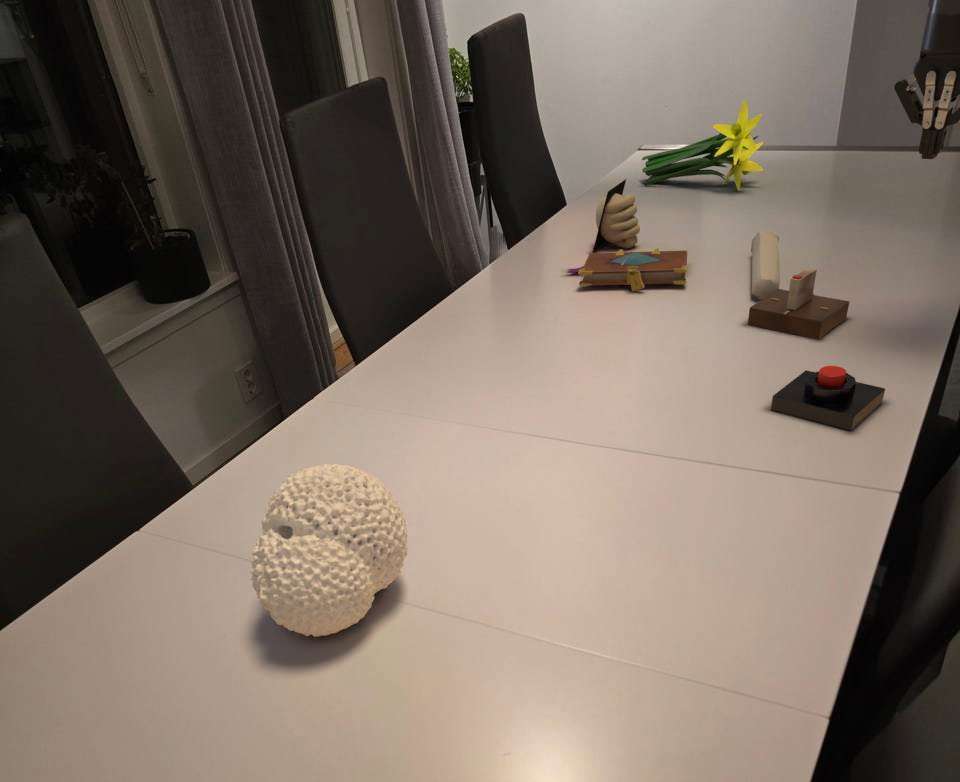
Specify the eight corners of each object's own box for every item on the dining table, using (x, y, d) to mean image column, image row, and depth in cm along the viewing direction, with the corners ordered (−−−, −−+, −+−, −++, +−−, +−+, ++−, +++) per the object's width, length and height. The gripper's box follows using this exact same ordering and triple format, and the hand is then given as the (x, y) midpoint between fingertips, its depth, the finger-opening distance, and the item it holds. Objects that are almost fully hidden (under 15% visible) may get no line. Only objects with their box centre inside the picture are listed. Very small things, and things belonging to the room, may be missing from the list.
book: (568, 271, 177) (568, 245, 174) (688, 267, 171) (690, 241, 168) (556, 294, 164) (556, 268, 161) (685, 292, 159) (687, 264, 156)
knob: (803, 297, 144) (808, 265, 140) (812, 299, 143) (817, 267, 139) (786, 309, 141) (790, 277, 137) (794, 310, 140) (799, 278, 136)
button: (848, 380, 118) (851, 368, 117) (836, 390, 116) (839, 378, 115) (824, 375, 120) (826, 363, 119) (812, 384, 118) (814, 372, 117)
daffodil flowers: (669, 175, 226) (794, 142, 202) (650, 219, 223) (774, 191, 199) (641, 123, 214) (769, 82, 190) (620, 169, 211) (748, 133, 187)
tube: (786, 280, 148) (783, 234, 166) (758, 271, 148) (758, 226, 166) (772, 309, 152) (771, 261, 169) (745, 300, 152) (746, 253, 169)
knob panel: (846, 318, 143) (850, 300, 141) (818, 339, 138) (821, 320, 136) (776, 305, 150) (778, 287, 148) (747, 324, 145) (749, 306, 143)
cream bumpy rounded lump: (285, 481, 102) (295, 414, 87) (418, 533, 106) (450, 478, 90) (224, 627, 96) (223, 583, 81) (368, 678, 99) (393, 645, 84)
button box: (882, 402, 120) (888, 376, 117) (850, 431, 115) (856, 404, 112) (803, 383, 127) (807, 358, 124) (770, 409, 122) (774, 383, 119)
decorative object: (640, 250, 186) (623, 265, 180) (599, 234, 188) (580, 248, 182) (658, 190, 176) (640, 204, 170) (614, 174, 179) (595, 187, 172)
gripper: (1027, -2, 105) (988, 153, 116) (919, 4, 113) (892, 149, 124) (1007, 8, 101) (968, 167, 113) (896, 13, 109) (871, 162, 120)
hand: (928, 157), depth 118 cm, fingers closed
